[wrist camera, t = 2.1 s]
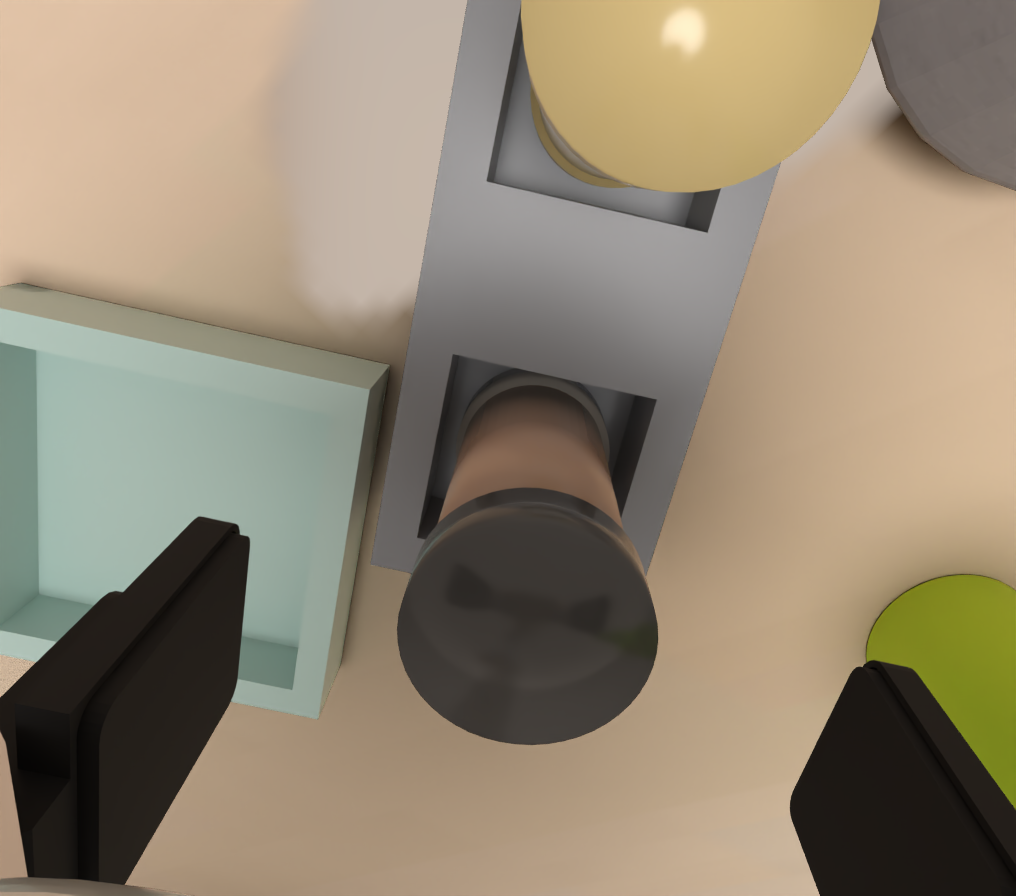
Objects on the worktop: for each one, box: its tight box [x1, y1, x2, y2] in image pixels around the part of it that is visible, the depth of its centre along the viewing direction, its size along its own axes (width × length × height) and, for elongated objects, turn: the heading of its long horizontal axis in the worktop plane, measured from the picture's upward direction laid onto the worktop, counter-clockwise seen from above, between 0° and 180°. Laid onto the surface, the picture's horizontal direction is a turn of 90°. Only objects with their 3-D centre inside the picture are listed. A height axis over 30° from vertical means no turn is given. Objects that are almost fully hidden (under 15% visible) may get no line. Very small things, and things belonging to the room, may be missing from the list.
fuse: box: [521, 0, 880, 192], centre depth 15 cm, size 5×5×11 cm
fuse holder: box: [370, 0, 781, 576], centre depth 20 cm, size 18×8×4 cm, turn 168°
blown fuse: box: [397, 368, 658, 745], centre depth 18 cm, size 5×5×11 cm
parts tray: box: [0, 283, 390, 719], centre depth 24 cm, size 12×12×3 cm
